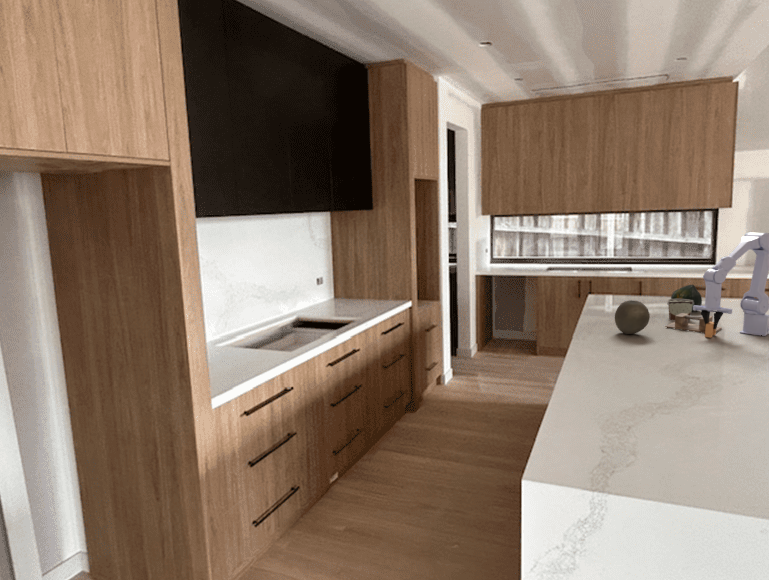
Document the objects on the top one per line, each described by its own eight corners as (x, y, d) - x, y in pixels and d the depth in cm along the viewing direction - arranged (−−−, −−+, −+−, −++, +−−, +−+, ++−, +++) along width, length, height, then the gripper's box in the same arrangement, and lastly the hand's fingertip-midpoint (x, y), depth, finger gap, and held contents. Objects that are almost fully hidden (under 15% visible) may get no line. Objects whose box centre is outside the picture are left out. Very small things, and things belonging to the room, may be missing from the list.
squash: (660, 299, 303) (678, 280, 293) (679, 297, 310) (697, 279, 299) (676, 319, 295) (695, 301, 285) (695, 317, 301) (714, 300, 291)
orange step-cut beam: (715, 334, 241) (716, 322, 241) (711, 337, 237) (712, 324, 236) (709, 333, 243) (710, 321, 242) (705, 336, 238) (705, 324, 237)
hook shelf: (721, 329, 253) (722, 316, 252) (713, 334, 244) (714, 321, 243) (674, 323, 267) (674, 311, 266) (665, 327, 258) (665, 315, 257)
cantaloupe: (612, 336, 243) (613, 302, 241) (615, 329, 256) (617, 297, 254) (647, 339, 237) (649, 304, 235) (649, 332, 249) (651, 299, 247)
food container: (687, 318, 279) (688, 298, 277) (693, 320, 273) (694, 300, 271) (661, 318, 280) (663, 298, 279) (666, 320, 274) (668, 300, 272)
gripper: (691, 296, 240) (689, 327, 242) (730, 300, 230) (727, 332, 232) (696, 294, 245) (694, 325, 247) (734, 297, 235) (732, 329, 237)
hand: (710, 328), depth 239 cm, fingers closed on orange step-cut beam, 2 cm apart
